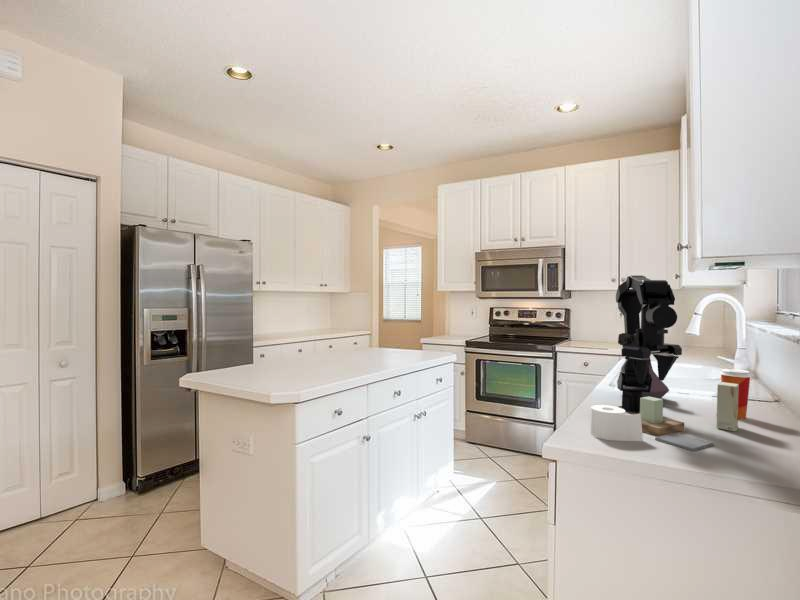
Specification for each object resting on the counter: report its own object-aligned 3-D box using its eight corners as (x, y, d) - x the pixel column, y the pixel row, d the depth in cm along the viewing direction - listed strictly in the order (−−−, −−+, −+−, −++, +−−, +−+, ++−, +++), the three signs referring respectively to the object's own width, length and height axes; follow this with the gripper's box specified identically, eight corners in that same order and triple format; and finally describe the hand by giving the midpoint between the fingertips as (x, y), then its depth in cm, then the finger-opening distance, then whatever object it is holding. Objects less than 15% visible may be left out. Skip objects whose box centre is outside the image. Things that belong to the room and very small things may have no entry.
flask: (660, 407, 147) (661, 346, 147) (609, 397, 159) (610, 341, 159) (677, 399, 158) (678, 342, 158) (628, 391, 170) (629, 338, 170)
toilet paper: (643, 441, 112) (643, 413, 112) (597, 439, 113) (597, 412, 113) (628, 431, 121) (628, 405, 121) (585, 430, 121) (586, 404, 121)
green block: (648, 424, 127) (648, 396, 127) (662, 428, 123) (663, 399, 123) (639, 426, 125) (640, 397, 125) (653, 430, 122) (654, 401, 121)
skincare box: (735, 432, 121) (736, 386, 121) (715, 428, 124) (717, 384, 124) (738, 426, 126) (739, 383, 125) (719, 423, 129) (720, 381, 128)
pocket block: (643, 419, 132) (643, 412, 132) (684, 430, 122) (684, 422, 122) (618, 424, 127) (618, 417, 126) (659, 436, 116) (659, 428, 116)
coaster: (675, 434, 118) (675, 432, 118) (713, 445, 110) (713, 442, 110) (655, 439, 114) (655, 437, 114) (692, 451, 106) (692, 448, 106)
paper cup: (714, 412, 141) (715, 367, 141) (741, 413, 139) (742, 369, 139) (726, 419, 133) (727, 372, 133) (756, 421, 132) (757, 373, 132)
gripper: (645, 322, 135) (644, 374, 136) (604, 324, 126) (603, 379, 127) (683, 325, 126) (682, 380, 126) (642, 327, 117) (640, 387, 117)
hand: (651, 381), depth 124 cm, fingers open, 9 cm apart
